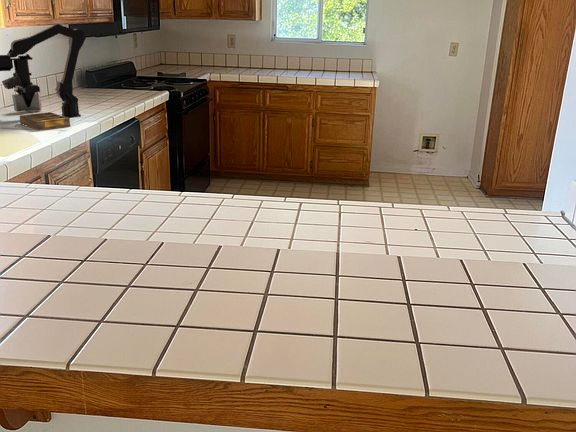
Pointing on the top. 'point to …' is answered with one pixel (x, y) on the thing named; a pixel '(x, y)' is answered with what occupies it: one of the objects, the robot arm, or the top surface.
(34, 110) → the soda can
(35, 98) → the block
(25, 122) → the rack
